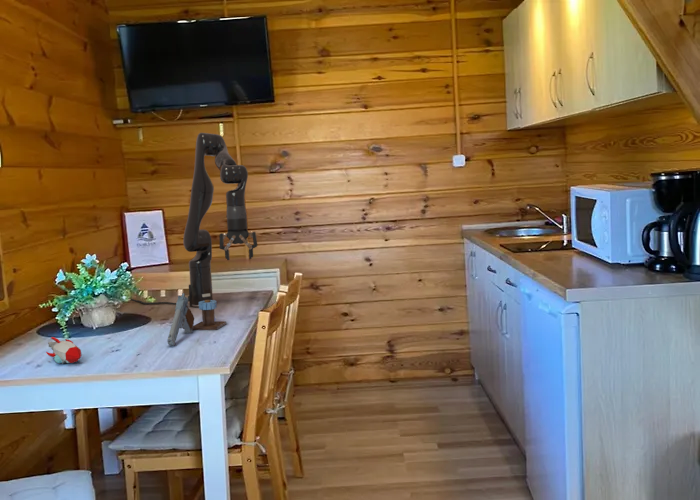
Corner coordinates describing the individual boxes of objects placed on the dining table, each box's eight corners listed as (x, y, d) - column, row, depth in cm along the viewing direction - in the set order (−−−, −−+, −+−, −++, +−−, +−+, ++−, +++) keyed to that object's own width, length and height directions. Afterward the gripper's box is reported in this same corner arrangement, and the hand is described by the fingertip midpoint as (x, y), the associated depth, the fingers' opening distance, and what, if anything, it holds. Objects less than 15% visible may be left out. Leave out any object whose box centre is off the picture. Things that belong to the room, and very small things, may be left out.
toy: (41, 356, 213) (40, 335, 213) (65, 353, 218) (64, 332, 217) (61, 368, 197) (60, 345, 197) (86, 364, 202) (85, 342, 201)
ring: (196, 310, 245) (195, 303, 245) (203, 306, 251) (202, 300, 251) (212, 309, 244) (212, 303, 244) (219, 306, 250) (218, 300, 250)
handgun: (196, 317, 246) (188, 286, 237) (183, 368, 227) (173, 337, 217) (187, 317, 246) (178, 287, 237) (173, 368, 227) (163, 337, 218)
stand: (190, 329, 244) (189, 302, 243) (201, 323, 254) (199, 298, 253) (216, 329, 243) (215, 302, 242) (226, 323, 252) (225, 297, 251)
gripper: (256, 216, 260) (258, 257, 262) (219, 217, 260) (222, 259, 261) (254, 217, 253) (257, 259, 255) (216, 219, 252) (219, 261, 254)
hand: (239, 259), depth 258 cm, fingers open, 8 cm apart
